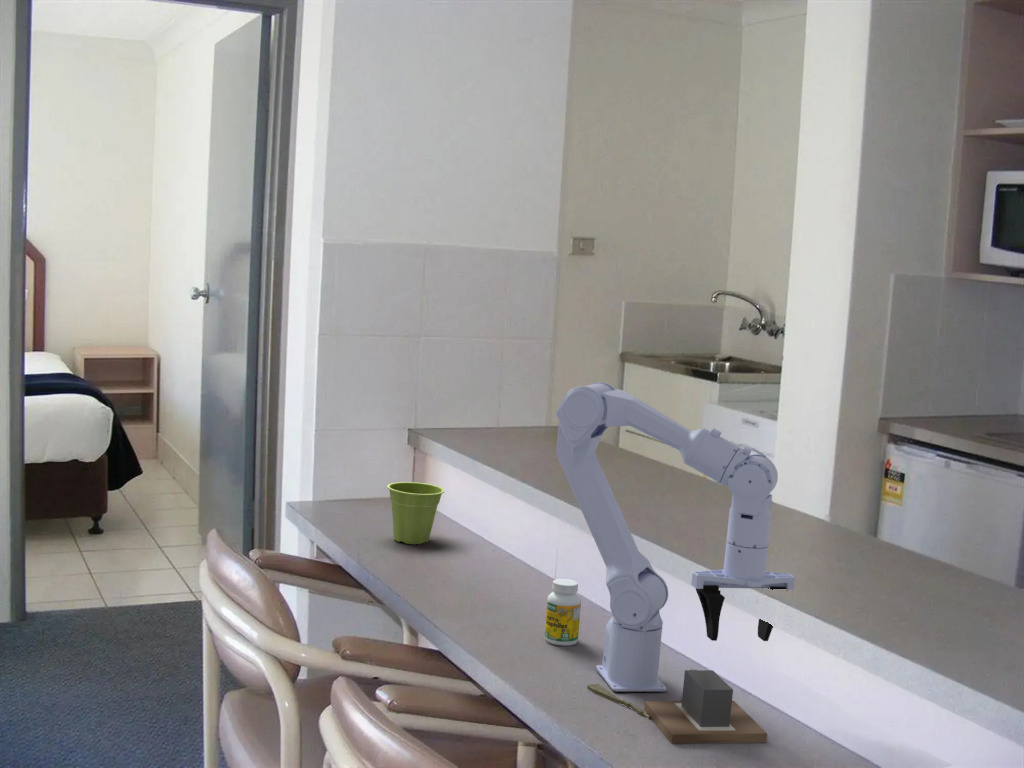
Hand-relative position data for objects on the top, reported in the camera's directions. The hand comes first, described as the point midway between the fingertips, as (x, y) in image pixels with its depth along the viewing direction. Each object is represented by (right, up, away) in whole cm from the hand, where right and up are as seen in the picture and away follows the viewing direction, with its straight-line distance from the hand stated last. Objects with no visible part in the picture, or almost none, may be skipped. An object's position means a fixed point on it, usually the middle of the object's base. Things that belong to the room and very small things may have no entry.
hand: (737, 638), depth 162 cm
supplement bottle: (-24, -6, +22) cm, 33 cm away
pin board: (-6, -10, -8) cm, 14 cm away
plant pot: (-52, +3, +79) cm, 95 cm away
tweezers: (-17, -9, -2) cm, 19 cm away
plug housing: (-6, -9, -8) cm, 13 cm away
